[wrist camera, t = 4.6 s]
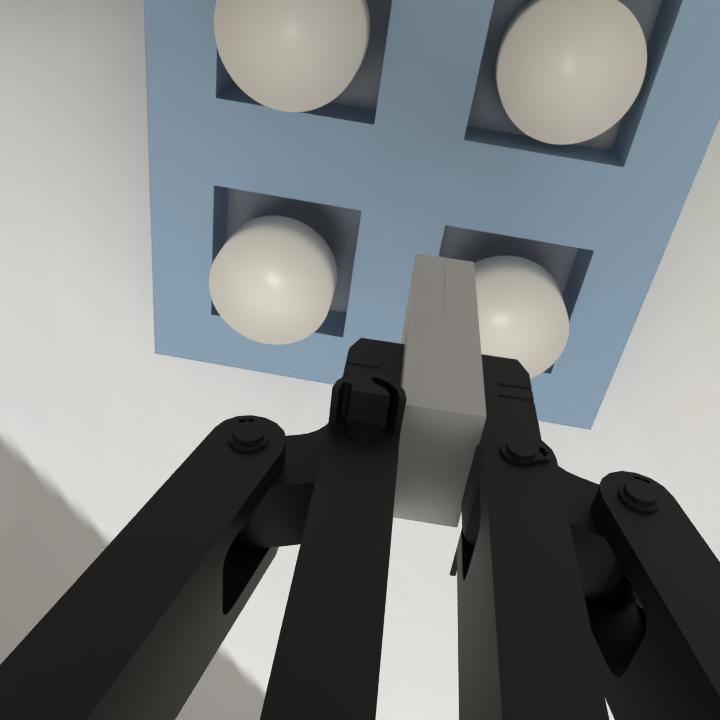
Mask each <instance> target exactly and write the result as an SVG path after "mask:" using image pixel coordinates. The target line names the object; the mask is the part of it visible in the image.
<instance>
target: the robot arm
mask: <svg viewBox="0 0 720 720" xmlns="http://www.w3.org/2000/svg"><path fill="white" fill-rule="evenodd" d="M531 390H532V386H531V381H530V375H529V373H528V372H527V370H526V369H525V368H524V367H523V366H522V364H521V363H520V362H519V361H518V360H517V359H510V358H504V357H497V356H490V355H484V354H481V343H480V331H479V319H478V307H477V294H476V282H475V270H474V262H471V261H464V260H458V259H451V258H444V257H437V256H430V255H424V254H417V253H415V259H414V265H413V271H412V277H411V283H410V289H409V295H408V301H407V307H406V313H405V319H404V325H403V331H402V337H401V342H400V343H393V342H387V341H380V340H373V339H367V338H360V339H359V340H358V341H357V342H355V343H354V344H353V345H352V346H351V347H350V348H349V350H348V355H347V359H346V364H345V368H344V372H343V376H342V378H340V379H338V380H337V381H336V383H335V384H334V386H333V388H332V397H331V406H330V415H329V423H328V424H327V425H326V426H324V427H322V428H321V429H319V430H317V431H314V432H311V433H308V434H301V435H290V436H285V433H284V431H283V430H282V428H281V427H280V426H279V425H278V424H277V423H275V422H273V421H271V420H269V419H267V418H263V417H258V416H252V415H249V416H237V417H234V418H231V419H227V420H224V421H223V422H222V423H220V424H219V425H218V426H216V427H215V428H214V429H213V430H212V431H211V432H210V434H209V435H208V436H207V437H206V438H205V439H204V440H203V441H202V442H201V443H200V445H199V446H198V447H197V448H196V449H195V450H194V451H193V452H192V453H191V455H190V456H189V457H188V458H187V459H186V460H185V461H184V462H183V463H182V464H181V466H180V467H179V468H178V469H177V470H176V471H175V472H174V473H173V474H172V476H171V477H170V478H169V479H168V480H167V481H166V482H165V483H164V484H163V485H162V487H161V488H160V489H159V490H158V491H157V492H156V493H155V494H154V495H153V497H152V498H151V499H150V500H149V501H148V502H147V503H146V504H145V505H144V506H143V508H142V509H141V510H140V511H139V512H138V513H137V514H136V515H135V516H134V518H133V519H132V520H131V521H130V522H129V523H128V524H127V525H126V526H125V527H124V529H123V530H122V531H121V532H120V533H119V534H118V535H117V536H116V537H115V539H114V540H113V541H112V542H111V543H110V544H109V545H108V546H107V547H106V549H105V550H104V551H103V552H102V553H101V554H100V555H99V556H98V557H97V558H96V560H95V561H94V562H93V563H92V564H91V565H90V566H89V567H88V568H87V570H86V571H85V572H84V573H83V574H82V575H81V576H80V577H79V578H78V579H77V581H76V582H75V583H74V584H73V585H72V586H71V587H70V588H69V590H68V591H67V592H66V593H65V594H64V595H63V596H62V597H61V598H60V599H59V600H58V602H57V603H56V604H55V605H54V606H53V607H52V608H51V609H50V610H49V612H48V613H47V614H46V615H45V616H44V617H43V618H42V619H41V620H40V621H39V623H38V624H37V625H36V626H35V627H34V628H33V629H32V630H31V631H30V633H29V634H28V635H27V636H26V637H25V638H24V639H23V640H22V641H21V642H20V644H19V645H18V646H17V647H16V648H15V649H14V650H13V651H12V652H11V654H10V655H9V656H8V657H7V658H6V659H5V660H4V662H2V664H1V665H0V720H175V719H176V717H177V715H178V714H179V712H180V711H181V709H182V707H183V705H184V704H185V702H186V701H187V699H188V697H189V696H190V694H191V693H192V691H193V689H194V688H195V686H196V684H197V683H198V681H199V680H200V678H201V676H202V675H203V673H204V671H205V670H206V668H207V666H208V665H209V663H210V661H211V660H212V658H213V657H214V655H215V653H216V652H217V650H218V648H219V647H220V645H221V644H222V642H223V640H224V639H225V637H226V635H227V634H228V632H229V631H230V629H231V627H232V626H233V624H234V622H235V621H236V619H237V617H238V616H239V614H240V613H241V611H242V609H243V608H244V606H245V604H246V603H247V601H248V599H249V598H250V596H251V595H252V593H253V591H254V590H255V588H256V586H257V585H258V583H259V582H260V580H261V578H262V577H263V575H264V573H265V572H266V570H267V568H268V567H269V565H270V564H271V562H272V560H273V559H274V557H275V555H276V553H277V550H278V547H280V546H289V545H298V544H301V545H300V549H299V553H298V558H297V562H296V566H295V571H294V575H293V579H292V584H291V588H290V592H289V597H288V601H287V605H286V609H285V614H284V618H283V622H282V627H281V631H280V635H279V640H278V644H277V648H276V652H275V657H274V661H273V665H272V670H271V674H270V678H269V683H268V687H267V691H266V696H265V700H264V704H263V709H262V713H261V718H260V720H375V718H376V707H377V695H378V683H379V672H380V660H381V649H382V637H383V626H384V614H385V603H386V591H387V580H388V568H389V557H390V545H391V534H392V522H393V517H395V518H401V519H407V520H414V521H420V522H426V523H432V524H439V525H445V526H451V527H457V526H458V522H459V519H460V515H461V511H462V531H461V534H460V538H459V542H458V545H457V549H456V553H455V556H454V560H453V564H452V568H451V571H450V575H451V576H455V575H456V572H457V594H458V672H459V720H609V716H608V711H607V706H606V701H607V703H608V705H609V708H610V710H611V712H612V714H613V717H614V719H615V720H720V562H719V560H718V559H717V558H716V556H715V555H714V553H713V552H712V550H711V549H710V548H709V546H708V545H707V543H706V542H705V541H704V539H703V538H702V536H701V535H700V534H699V532H698V531H697V529H696V528H695V526H694V525H693V524H692V522H691V521H690V519H689V518H688V517H687V515H686V514H685V512H684V511H683V509H682V508H681V507H680V505H679V504H678V502H677V501H676V500H675V498H674V497H673V496H672V495H671V494H670V493H669V492H668V491H667V490H666V488H665V487H664V486H662V485H660V484H659V483H657V482H656V481H654V480H652V479H651V478H648V477H646V476H643V475H640V474H637V473H633V472H625V471H619V472H613V473H609V474H608V475H606V476H605V477H604V478H602V480H601V482H600V485H599V484H596V483H593V482H591V481H588V480H586V479H583V478H580V477H578V476H575V475H573V474H571V473H569V472H567V471H565V470H564V469H562V468H561V467H559V466H558V464H557V459H556V457H555V455H554V453H553V451H552V449H551V448H550V447H549V446H547V445H546V444H545V443H544V442H543V441H542V440H541V435H540V430H539V424H538V419H537V413H536V408H535V403H534V397H533V392H532V391H531ZM605 698H606V701H605Z"/></svg>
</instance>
